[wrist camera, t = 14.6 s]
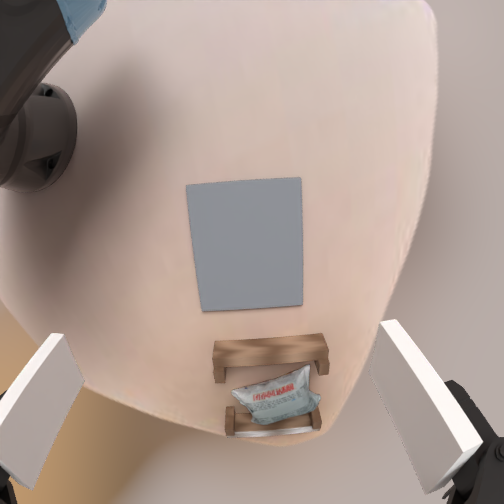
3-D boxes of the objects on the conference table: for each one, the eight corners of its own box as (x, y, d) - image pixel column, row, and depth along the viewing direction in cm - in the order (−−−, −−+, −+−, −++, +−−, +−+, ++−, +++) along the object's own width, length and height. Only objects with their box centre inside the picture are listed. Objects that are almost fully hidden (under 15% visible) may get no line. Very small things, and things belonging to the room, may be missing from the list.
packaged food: (231, 380, 42) (231, 403, 37) (307, 356, 41) (314, 378, 37) (251, 412, 45) (253, 435, 40) (319, 392, 44) (326, 413, 39)
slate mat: (202, 308, 38) (201, 311, 38) (186, 185, 33) (185, 185, 33) (301, 302, 38) (302, 304, 38) (300, 177, 33) (301, 177, 33)
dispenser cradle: (228, 419, 46) (227, 440, 41) (214, 341, 40) (211, 363, 35) (314, 412, 46) (319, 433, 41) (322, 333, 40) (330, 354, 35)
